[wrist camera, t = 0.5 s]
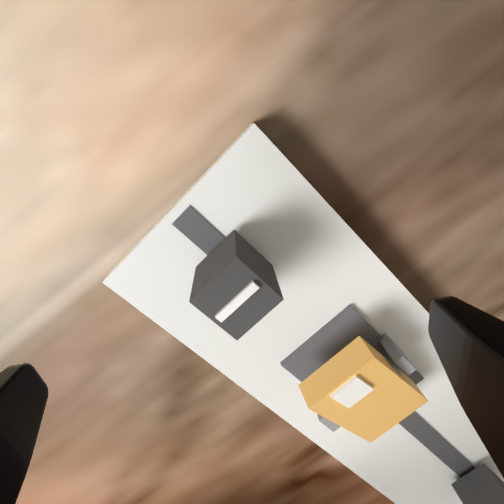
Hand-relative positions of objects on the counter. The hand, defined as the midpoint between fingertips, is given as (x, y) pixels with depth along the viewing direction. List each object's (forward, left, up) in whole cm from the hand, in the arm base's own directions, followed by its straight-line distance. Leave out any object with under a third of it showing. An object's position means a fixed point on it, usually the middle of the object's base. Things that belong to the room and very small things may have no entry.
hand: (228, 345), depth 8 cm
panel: (-2, -15, -14) cm, 21 cm away
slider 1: (-2, -2, -11) cm, 12 cm away
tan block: (-2, -13, -10) cm, 17 cm away
